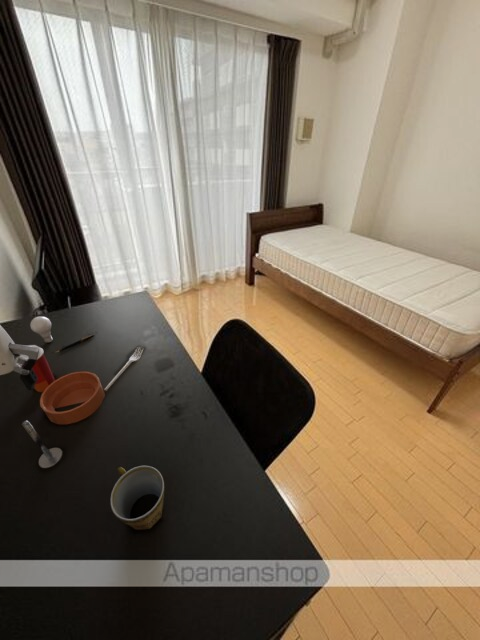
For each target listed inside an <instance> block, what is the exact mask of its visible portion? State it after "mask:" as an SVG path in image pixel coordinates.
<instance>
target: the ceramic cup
mask: <svg viewBox="0 0 480 640" xmlns="http://www.w3.org/2000/svg"><path fill="white" fill-rule="evenodd" d="M117 472H118V475H119V476H120V477H119V478H118V479H117V481H116V482H115V484H114V486H113V488H112V490H111V493H110V498H109V506H110V510H111V512H112V513H113V515H114V516H115V517H116V518H117V519H118V520H119V521H120V522H122V523H124V524H126V525H128V526H129V527H131V528H133V529H134V530H136V531H138V530H139V531H140V530H150V529H151V528H152V527H153V526H154V525H155V524H156V523H157V522H158V521H160V519H161V518H162V516H163V509H164V499H165V481H164V477H163V475H162V474H161V473H162V472H160V471H159V469H157V468H155V467H153V466H151V465H139V466H135V467H133V468H131V469H129V470H125V468H123V467H122V466H119V467H117ZM146 495H155V496H156V497H158V500H157V501H156V503H155V504H154V506H153V507H152V508H151V509H150V510H149V511H147V512H146V513H145V514H143V515H141V516H139V517H136V518H131V513H132V509H133V506H134V504H135V503H136V502H137V501H138V500H139V499H140V498H142V497H143V496H146Z"/></svg>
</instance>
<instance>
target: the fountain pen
mask: <svg viewBox="0 0 480 640" xmlns="http://www.w3.org/2000/svg"><path fill="white" fill-rule="evenodd" d="M94 337H95V334H91V335H88V336H85V337H83V338H80V339H79V340H76V341H74V342H73V343H70V344H68V345H66V346H64V347H62V348H60V349H58V350H57V351H56V353H59V352H63V351H65V350H68V349H70V348H73V347H75V346H77V345H79V344H81V343H84V342H87V341H88V340H90V339H92V338H94Z"/></svg>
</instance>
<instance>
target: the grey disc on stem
mask: <svg viewBox="0 0 480 640" xmlns="http://www.w3.org/2000/svg"><path fill="white" fill-rule="evenodd" d="M21 425H22V427H23V428H24V429H25V431H26V432H27V434H28V435H29V436H30V437H31V439H32V440H33V441H34V443H35V444H36V446H37V447H38V449H40V451H41V452H42V454H41V456H40V457H39V459H38V466H39V467H40V468H41V469H42V470H49V469H52V468H54V467H56V466H58V464H59V463H61V461H62V459H63V456H64V451H63V450H62V449H61V448H60V447H52V448H48V446H47V445H46V443H45V442H44V441H43V439H42V438H41V436H40V435H39V434H38V432H37V431H36V430H35V428H34V426H33V425H32V424H31V422H30V421H29V420H24V421H22V424H21Z"/></svg>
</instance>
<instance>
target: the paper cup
mask: <svg viewBox="0 0 480 640" xmlns="http://www.w3.org/2000/svg"><path fill="white" fill-rule="evenodd" d="M28 346H31V347H37V348H39V353H38V358H37V361H36V363H35V365H34V366H33V370H34V372H35V373H36V375H37V377H38V380H37V383H35V386H34V388H33V390H35V391H36V392H38V393H43V392H44V391H45V389H46V388H47V387H48V386H49V385H50V384H51V383H53V382H54V381H55V380H56V379H55V377H54V374H53V371H52V370H51V367H50V365H49V362H48V361H47V358H46V356H45V354H44V349H43V348H42V347H40V346H38V345H37V344H28ZM20 357H23V358H25V359H29V357H28V356H27V355H21V354H20ZM16 364H17V365H19V366H22V367H23V365H22V364H19V363H16Z"/></svg>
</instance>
